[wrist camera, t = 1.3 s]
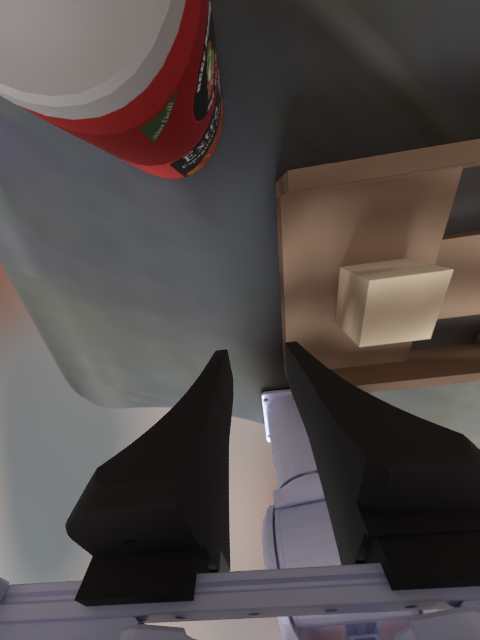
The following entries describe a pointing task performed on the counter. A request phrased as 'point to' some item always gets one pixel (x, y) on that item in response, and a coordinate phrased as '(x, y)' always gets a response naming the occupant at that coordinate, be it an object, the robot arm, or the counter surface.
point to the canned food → (119, 76)
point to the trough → (383, 258)
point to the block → (390, 300)
